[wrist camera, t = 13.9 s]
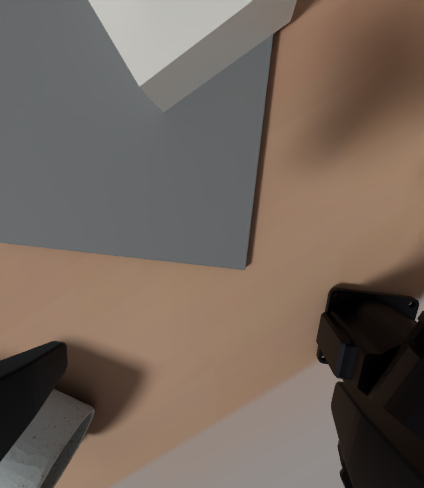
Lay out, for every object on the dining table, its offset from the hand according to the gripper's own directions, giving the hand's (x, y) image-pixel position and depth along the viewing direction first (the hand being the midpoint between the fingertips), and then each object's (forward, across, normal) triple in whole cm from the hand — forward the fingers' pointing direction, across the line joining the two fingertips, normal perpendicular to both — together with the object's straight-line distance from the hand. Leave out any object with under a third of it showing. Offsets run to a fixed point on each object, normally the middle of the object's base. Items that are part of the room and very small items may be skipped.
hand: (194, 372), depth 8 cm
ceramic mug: (+13, +15, +18) cm, 26 cm away
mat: (+12, +8, -12) cm, 19 cm away
